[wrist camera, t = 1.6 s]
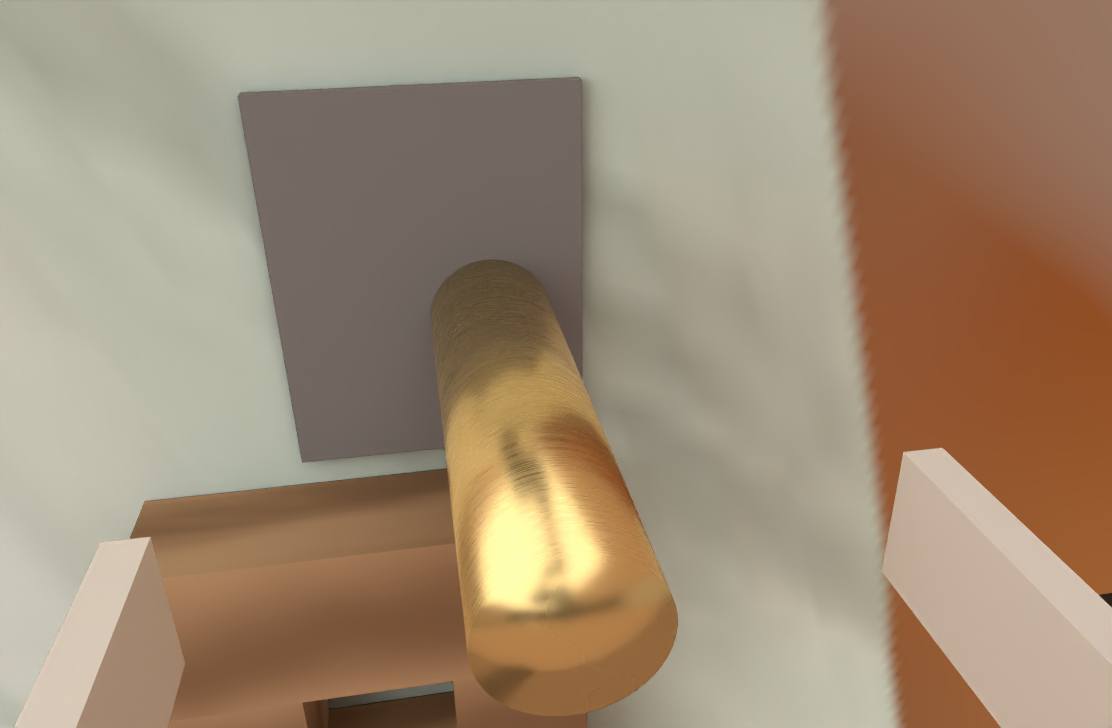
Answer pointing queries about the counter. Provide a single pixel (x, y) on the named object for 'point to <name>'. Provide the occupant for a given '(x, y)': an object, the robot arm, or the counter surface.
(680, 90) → the counter surface
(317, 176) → the mat
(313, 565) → the hole block
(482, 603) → the peg
